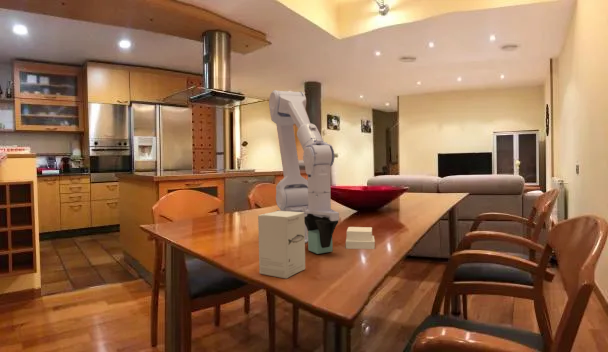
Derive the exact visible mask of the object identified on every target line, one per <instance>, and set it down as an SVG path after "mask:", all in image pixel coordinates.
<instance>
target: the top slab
mask: <svg viewBox="0 0 608 352" xmlns="http://www.w3.org/2000/svg"><path fill="white" fill-rule="evenodd" d="M372 236H373V227H371V226H369V227H366V226H364V227H363V226H348V227H347V229H346V238H347V241H372Z"/></svg>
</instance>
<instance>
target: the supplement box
mask: <svg viewBox="0 0 608 352" xmlns="http://www.w3.org/2000/svg"><path fill="white" fill-rule="evenodd" d="M257 219H258V221H257V222H258V223H257V227H258V229H257V230H258V261H259V262H258V267H259V272H258V273H259V274H261V275H264V276H271V277H275V278H276V277H277V278H281V279H285V280H287V279H288V278H290V277H292V276H293V275H296V274H298V273H300V272H302V271H304V270H306V243H305V222H304V212H291V211H277V210H276V211H272V212H265V213H262V214H258V215H257Z"/></svg>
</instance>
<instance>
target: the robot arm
mask: <svg viewBox="0 0 608 352" xmlns="http://www.w3.org/2000/svg"><path fill="white" fill-rule="evenodd" d="M305 94H306V93H304V92H303V91H291V90H289V91H288V90H277V89H274V90H272V92H270V95H269V101H268V107H269V114H270V118H271V122H273V123H274V124H275V126H276V131H277V139H278V146H279V151H280V158H281V159H280V160H281V167H282V174H283V178H282V179H280V180H279V182H278V183H277V184H276V186H275V190H276V191H275V193H276V194H275V202H276V206H277V208H279V209H278V210H276V211H291V212H304V222H305V244H308V231H311V230H319V234H320V243H321V247H322V248H326V247H330V243H331V239H332V240H333V234H334V231H335V228H336V226H337V225H338V224H339V221H340V212H339V211H336V210H334V209H332V208H331V207H332V206H331V205H332V203H331V201H332V200H331V197H332V196H331V190H332V189H331V167H332V166H333V165H334V163H335V156H336V155H335V150H334V147H333V146H332V144H330V143H328V142H327V141H324V138H323V137H322V135H321V133H320V131H319V129H318V127H317V125H315V124H314V123H311V122H310V121H311V120H310V118H309V115H308V112H307V110H306V108H307V97H306V95H305ZM294 125H295V126H296V128H297V131H296V136H295V130H294V129H295V128H294ZM296 137H297V139H298V141H299V143H300V145H301V148H302V150H303V156H302V159H303V163H304V167H305V169H304V170H305V173H306V175H307V179H306V178H305V177H303V176H302V175H301V170H300V163H299V156H298V149H297V144H296V142H297V141H296Z"/></svg>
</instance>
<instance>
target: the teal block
mask: <svg viewBox="0 0 608 352" xmlns="http://www.w3.org/2000/svg"><path fill="white" fill-rule="evenodd" d="M307 245H308V247H307V248H308V249H307V250H308V251H310V252H312V253H314V254H317V255H319V254H325V253H331V252H333V238H332V239H331V243H330V247H326V248H322V247H321V243H320V234H319V230H311V231H308V242H307Z"/></svg>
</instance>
